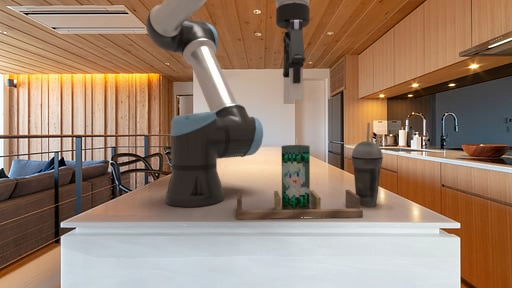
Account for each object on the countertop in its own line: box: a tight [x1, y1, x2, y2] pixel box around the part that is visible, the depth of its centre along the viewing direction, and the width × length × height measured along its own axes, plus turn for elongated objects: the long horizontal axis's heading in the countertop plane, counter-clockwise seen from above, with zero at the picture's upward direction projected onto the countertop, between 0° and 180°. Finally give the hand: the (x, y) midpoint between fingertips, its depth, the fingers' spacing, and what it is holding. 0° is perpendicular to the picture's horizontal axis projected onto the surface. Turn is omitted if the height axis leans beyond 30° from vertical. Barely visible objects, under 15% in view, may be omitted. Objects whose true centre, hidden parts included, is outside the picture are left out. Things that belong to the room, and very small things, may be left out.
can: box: [281, 144, 311, 210], centre depth 69 cm, size 6×6×15 cm
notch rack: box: [236, 189, 364, 220], centre depth 68 cm, size 27×9×4 cm, turn 91°
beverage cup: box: [351, 122, 384, 208], centre depth 74 cm, size 7×7×20 cm
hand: (292, 102), depth 70 cm, fingers open, 13 cm apart
